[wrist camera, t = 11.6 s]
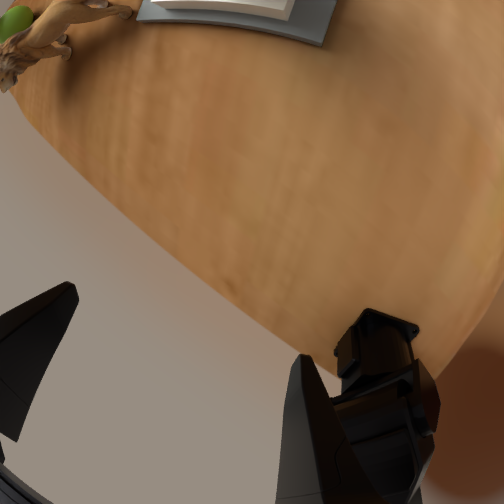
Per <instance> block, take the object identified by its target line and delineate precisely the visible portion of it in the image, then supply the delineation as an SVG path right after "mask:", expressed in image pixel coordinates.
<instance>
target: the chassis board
mask: <svg viewBox="0 0 504 504" xmlns="http://www.w3.org/2000/svg"><path fill="white" fill-rule="evenodd" d="M336 3H337V0H143V3H142V5H141V8H140V10H139V13H138V16H137V19H136V21H139V22H142V23H149V22H184V23H202V24H214V25H223V26H231V27H238V28H245V29H251V30H256V31H261V32H266V33H271V34H276V35H280V36H284V37H288V38H292V39H296V40H300V41H303V42H307V43H310V44H313V45H316V46H320V47H322V44H323V41H324V38H325V35H326V32H327V29H328V26H329V23H330V20H331V17H332V15H333V12H334V9H335V6H336Z"/></svg>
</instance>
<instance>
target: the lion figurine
mask: <svg viewBox="0 0 504 504" xmlns="http://www.w3.org/2000/svg"><path fill="white" fill-rule="evenodd" d="M92 4H96V5H97V8H91V7H89V6H87V5H92ZM107 6H108V1H107V0H53V1H52V3H51V4H50V5H49V7H48V8H47V9H46V11H45V12H44V13H43V14H42V15H41V16H40V17H39V18H38V19H37V20H36V21H35V22H34V23H33V24H32V25H31V26H30V27H29V28H27V29H26V30H24V31H20V32H17V33H15V34H14V35H12V36H11V37H9V38H8V39H7V40H6V41H5V42H4V43H3V44H1V45H0V89H1V91H2V93H5V92H6V91H7V90H8V89H10V88H11V87H12V86H14V85H16V84H17V82H18V79H17V75H20V74H22V73H24V71H25V70H26V69H27V67H29V66H32V65H35V64H36V63H37V62H38V61H39V60H40V59H42V58H50V57H55V56H58V55H62V59H63V60H69V58H70V56H71V53H72V52H71V48H70V47H61V48H55V47H54V46H52V45H51V43H53V42H54V41H57V42H58V44H63V43H64V42H65V40H66V37H67V36H66V34H63V33H64V32H65V31H66V30H67V28H68V27H69V25H70V24H79V23H85V22H92V21H95V20H99V19H101V18H104V17H108V16H111V15H114V14H119V13H120V14H119V17H120V18H121V19H128V18H129V17H130V16H131V15H132V9H131V7H129V6H123V5H114V6H111V7H107ZM106 7H107V8H106Z"/></svg>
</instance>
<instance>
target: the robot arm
mask: <svg viewBox="0 0 504 504" xmlns="http://www.w3.org/2000/svg"><path fill="white" fill-rule="evenodd" d="M78 302H79V296H78V293H77V290H76V287H75V285H74V284H73V283H70V282H68V281H66V282H63V283H61V284H59V285H57V286H56V287H53V288H51V289H49V290H47V291H45V292H43V293H42V294H40V295H38V296H36V297H34V298H32V299H30V300H28V301H26V302H24V303H22V304H21V305H19V306H17V307H15V308H13V309H11V310H9V311H8V312H6V313H4V314H2V315H1V316H0V433H2V434H3V435H5V436H6V437H8V438H10V439H11V440H13V441H15V442H17V441H18V439H19V436H20V432H21V430H22V427H23V424H24V421H25V419H26V416H27V413H28V411H29V408H30V406H31V403H32V401H33V398H34V396H35V393H36V391H37V389H38V386H39V384H40V382H41V380H42V378H43V376H44V373H45V371H46V369H47V367H48V365H49V363H50V361H51V359H52V357H53V355H54V353H55V351H56V349H57V347H58V345H59V343H60V342H61V340H62V338H63V336H64V334H65V332H66V330H67V328H68V325H69V323H70V321H71V318H72V316H73V314H74V312H75V310H76V307H77V305H78ZM368 313H369V315H366V314H368ZM413 330H414V331H413ZM418 333H419V327H418V326H417V325H415V324H412V323H409V322H407V321H404V320H401V319H398V318H395V317H393V316H390V315H387V314H384V313H381V312H379V311H376V310H373V309H370V308H367V309H365V310H364V311H363V312H362V313H361V315H360V316H359V317H358V319H357V320H356V322H355V323H354V324H353V325H352V326H350V327H349V329H348V330H347V331H346V333H345V334H344V335H343V337H342V338H341V339H340V341H339V342H338V346H337V347H336V348H335V349H334V356H336V357H338V363H337V375H338V378H342V389H341V395H339V396H336V397H334V398H332V397H331V398H330V397H329V395H328V393H327V391H326V388H325V386H324V384H323V382H322V379H321V377H320V375H319V373H318V370H317V368H316V366H315V364H314V362H313V359H312V357H311V356H310V355H305V354H299V355H298V357H297V359H296V360H295V362H294V363H293V365H292V367H291V371H290V376H289V382H288V388H287V393H286V398H285V404H284V413H283V427H282V440H281V452H280V463H279V474H278V484H277V493H276V501H275V504H423V503H422V497H421V489H420V484H421V482H422V479H423V477H424V475H425V472H426V470H427V468H428V465H429V463H430V460H431V457H432V455H433V452H434V449H435V444H434V439H433V433H435V432H436V428H437V424H438V418H439V412H440V406H441V402H440V398H439V394H438V391H437V387H436V384H435V381H434V380H433V378H432V377H431V375H430V374H429V372H428V371H427V369H426V368H425V367H424V365H423V364H422V362H421V361H420V360H419V358H418V359H416V360H415V359H414V355H413V351H412V347H411V343H410V342H411V341H412V340H413V339H414V337H415V336H416V335H417V334H418ZM4 460H5V457H4V453H3V450H2V446H1V442H0V504H53V503H52V502H50V501H49V500H47V499H46V498H44V497H43V496H41V495H40V494H39V493H37V492H36V491H35V490H33V489H32V488H30V487H29V486H28V485H27V484H25V483H24V482H23V481H22V480H20V479H19V478H18V477H17V476H16V475H14V474H13V473H12V472H11V471H9V470H8V469H7V468H6V467H5V466H4V465H3V463H4Z"/></svg>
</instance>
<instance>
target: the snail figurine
mask: <svg viewBox="0 0 504 504" xmlns="http://www.w3.org/2000/svg"><path fill="white" fill-rule="evenodd" d="M32 22H33V12H32V10H31V9H30V8H29V7H27V6H16V7H14V8H12V9H10V10H8V11H7V12H6V13H5V14H4V15H3V16H2V17H1V18H0V43H1V44H3V43H4V42H5V41H6V40H7V39H8V38H9V37H11V36H12V35H14V34H15V33H17V32H20V31H24V30H26V29H27V28H29V27H30V26H31V25H32Z"/></svg>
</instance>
